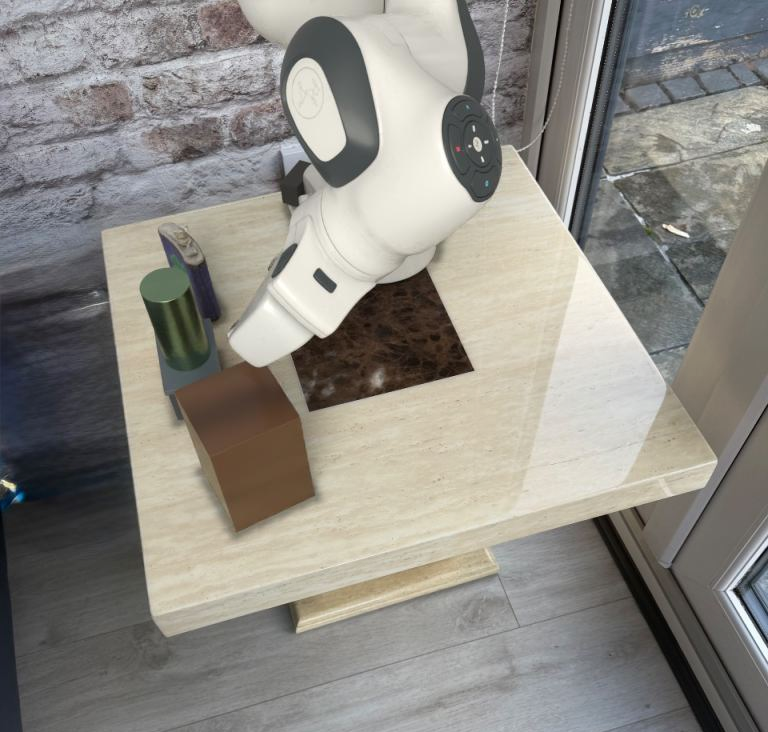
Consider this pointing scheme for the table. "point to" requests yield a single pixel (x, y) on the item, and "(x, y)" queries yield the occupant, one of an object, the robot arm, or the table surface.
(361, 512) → the table surface
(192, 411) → the block
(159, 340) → the tin
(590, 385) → the table surface
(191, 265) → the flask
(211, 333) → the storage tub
